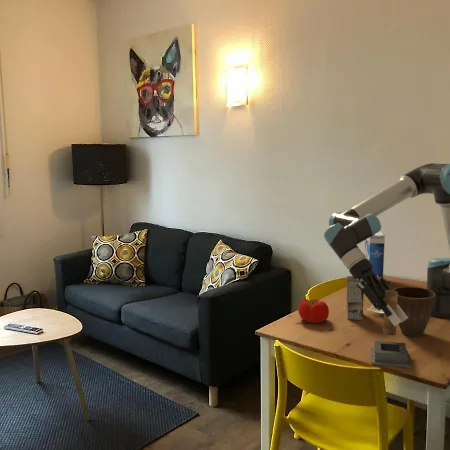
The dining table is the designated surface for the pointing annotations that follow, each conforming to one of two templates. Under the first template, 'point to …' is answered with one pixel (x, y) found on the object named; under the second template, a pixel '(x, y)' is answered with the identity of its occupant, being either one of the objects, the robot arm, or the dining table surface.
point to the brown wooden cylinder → (392, 299)
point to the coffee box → (354, 299)
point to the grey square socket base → (390, 354)
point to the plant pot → (415, 309)
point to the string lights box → (375, 252)
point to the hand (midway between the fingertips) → (401, 321)
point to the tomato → (313, 310)
